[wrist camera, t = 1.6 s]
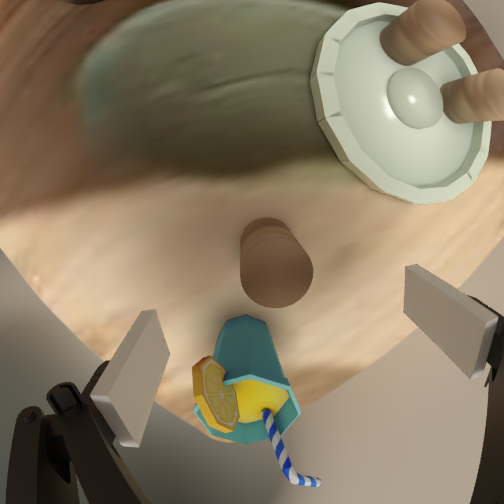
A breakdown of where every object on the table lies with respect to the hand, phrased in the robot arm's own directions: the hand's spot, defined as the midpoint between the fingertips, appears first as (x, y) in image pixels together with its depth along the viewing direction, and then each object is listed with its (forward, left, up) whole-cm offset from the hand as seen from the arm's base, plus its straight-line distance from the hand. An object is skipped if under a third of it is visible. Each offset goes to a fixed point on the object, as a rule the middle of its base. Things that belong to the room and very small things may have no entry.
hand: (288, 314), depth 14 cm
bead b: (-12, +22, -12) cm, 28 cm away
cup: (+10, -3, -13) cm, 16 cm away
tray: (-12, +16, -13) cm, 24 cm away
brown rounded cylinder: (-18, +16, -12) cm, 27 cm away
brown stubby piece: (0, 0, -13) cm, 13 cm away
